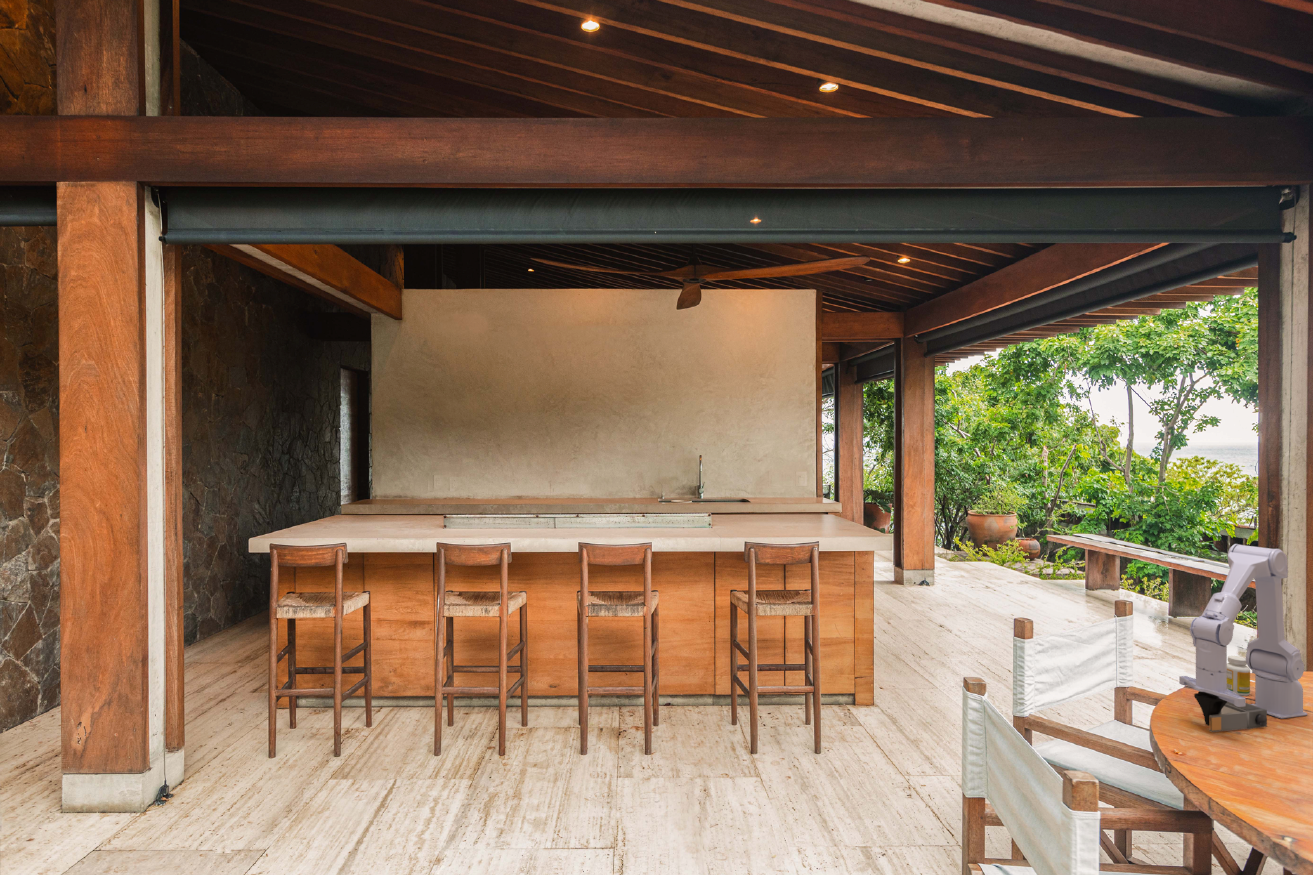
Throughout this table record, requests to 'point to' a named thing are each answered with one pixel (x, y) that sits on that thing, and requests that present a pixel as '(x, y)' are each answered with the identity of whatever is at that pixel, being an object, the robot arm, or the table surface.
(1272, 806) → the table surface
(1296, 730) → the table surface
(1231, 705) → the camera body
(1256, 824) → the table surface
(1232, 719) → the side door
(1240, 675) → the supplement bottle
